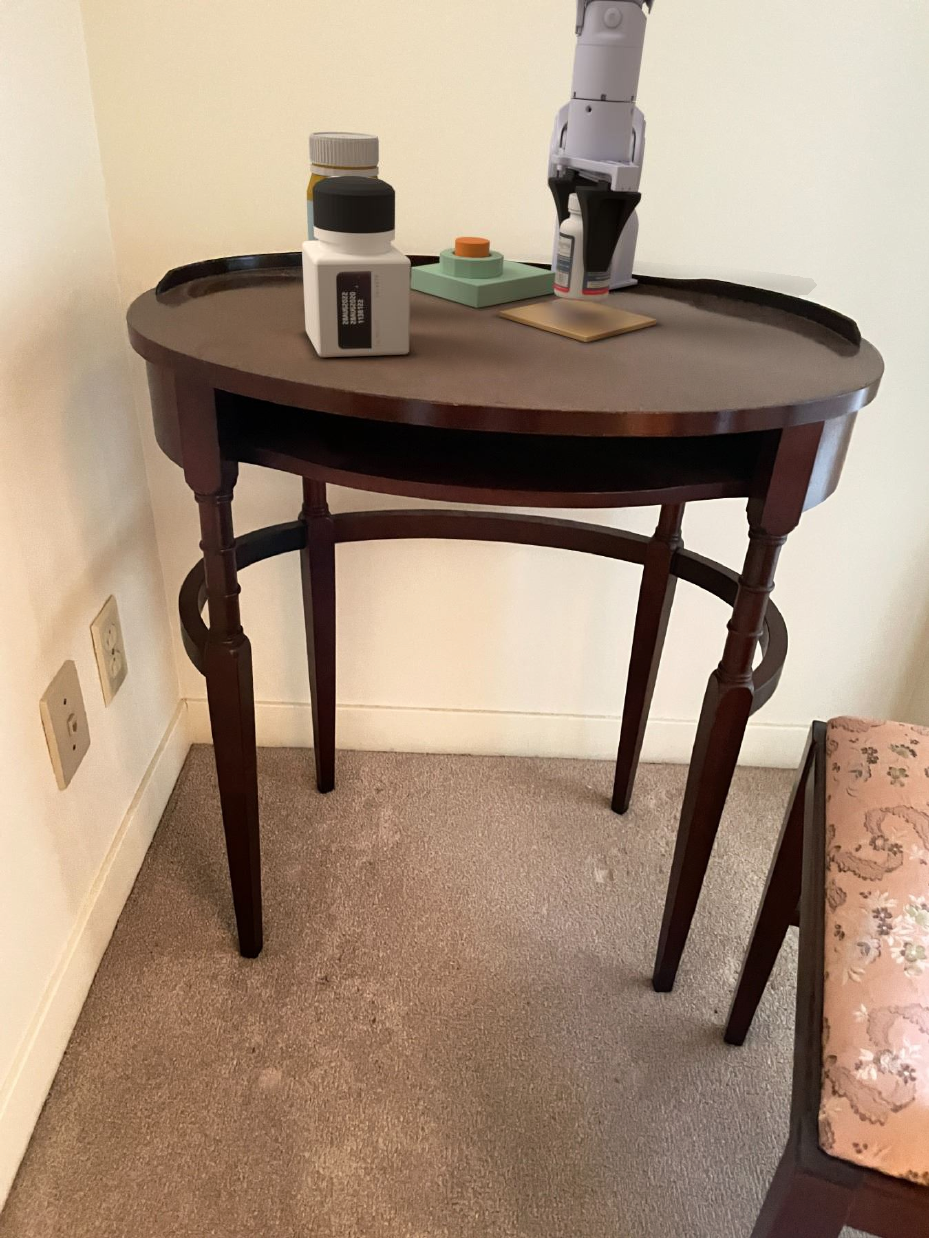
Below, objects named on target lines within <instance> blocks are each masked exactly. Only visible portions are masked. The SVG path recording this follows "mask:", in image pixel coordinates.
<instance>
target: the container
mask: <svg viewBox="0 0 929 1238" xmlns="http://www.w3.org/2000/svg"><path fill="white" fill-rule="evenodd" d="M312 193H313V220H314V237H315V238H317V239H319V241H308V240H305V241H304V242H302V243H301V257H302V280H303V281H302V282H303V301H304V322H305V324H304V325H305V326H304V327H305V332H306V334H307V336H308V338H309V340H310V341H311V344H312V346H313V347H314V349H315V351H316V353H317V355H318V356H319V357H320V358H340V357H369V356H371V357H373V356H400V355H401V356H403V355H407V354H408V353H409V351H410V333H411V331H410V328H411V327H410V326H411V268H412V267H411V265H412V264H411V260H410V258H409V257H408V256H406V255H405V253H403V252H402V251H401V250H400V249H398V248H397V247H396V246H395V245H394V244H392V242H394V240H395V239H396V190H395V189H394V187H393V185H391V184H390V183H388V182H386V181H385V180H383V179H381V178H378V179H376V178H370V177H361V176H333V177H326V178H324V179H322V180H320V181H318V182H316V183H315V185H314V186H313V188H312Z"/></svg>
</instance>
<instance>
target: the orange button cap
mask: <svg viewBox="0 0 929 1238" xmlns="http://www.w3.org/2000/svg"><path fill="white" fill-rule="evenodd" d="M490 246H491V241H490V240H489V239H487V238H483V237H477V236H460V237H457V238H455V240H454V248H455V255H456V256H460V257H469V258H485V257H489V250H491V249H490V248H491V247H490Z"/></svg>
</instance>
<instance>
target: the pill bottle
mask: <svg viewBox="0 0 929 1238" xmlns="http://www.w3.org/2000/svg"><path fill="white" fill-rule="evenodd" d="M568 208H569V210H568V211H569V212H571V215H570V218H569V219H566V220H565V221H563V222H562V224H561V226H560V232H559V243H558V253H557V264H556V274H555V285H554V294H555V296H557V297H559V298H560V299H563V298H564V299H568V300H575V301H588V302H598V301H603V300H605V299H607V298H608V297H609V292H610V290H609V285H610V277H611V268H612V260H613V257H612V260H611V262H610V265H609V268H608V270H607V272H586V271H585V270H584V265H583V224H582V215H581V210H580V205H579V201H578V198H577V194H576V193H573V194H570V196H569V204H568Z"/></svg>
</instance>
